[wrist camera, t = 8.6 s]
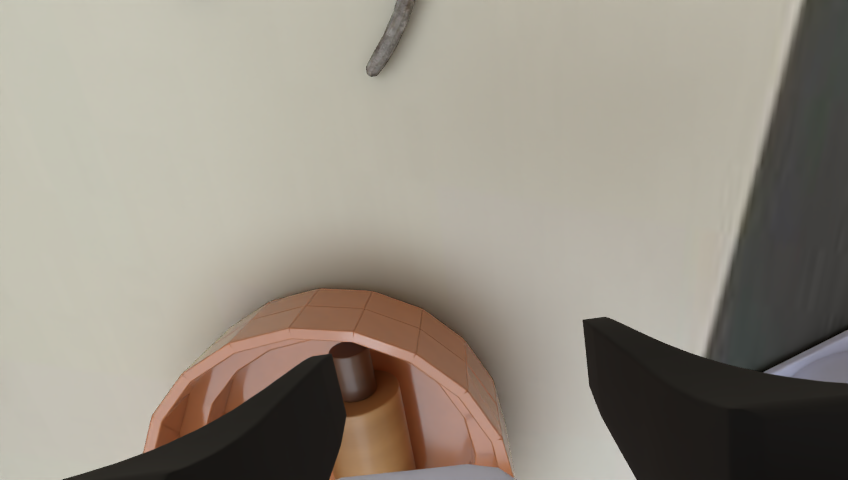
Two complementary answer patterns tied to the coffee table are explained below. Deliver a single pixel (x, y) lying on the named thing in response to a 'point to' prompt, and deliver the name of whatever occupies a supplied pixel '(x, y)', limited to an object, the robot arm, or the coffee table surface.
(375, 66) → the pliers
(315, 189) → the coffee table surface
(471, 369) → the bowl
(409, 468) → the rolling pin
